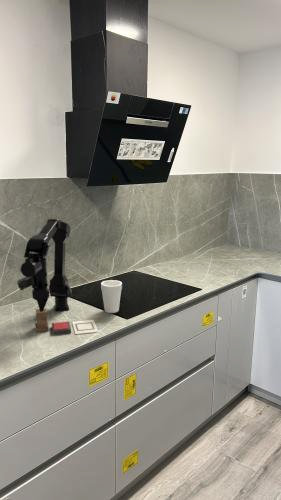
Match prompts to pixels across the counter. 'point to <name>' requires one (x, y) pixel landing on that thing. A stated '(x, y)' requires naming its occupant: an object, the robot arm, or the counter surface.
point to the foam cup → (111, 295)
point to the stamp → (41, 321)
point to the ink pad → (61, 328)
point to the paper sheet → (84, 327)
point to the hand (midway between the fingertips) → (41, 307)
